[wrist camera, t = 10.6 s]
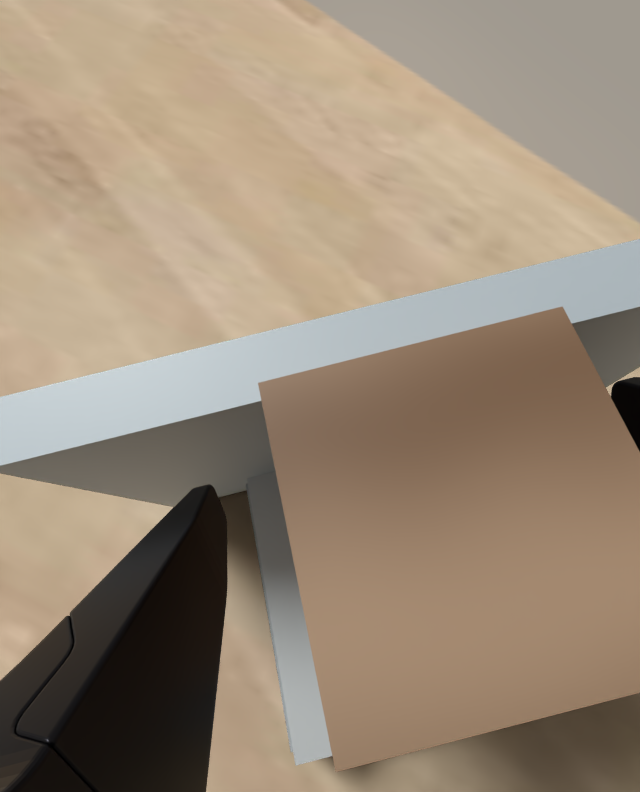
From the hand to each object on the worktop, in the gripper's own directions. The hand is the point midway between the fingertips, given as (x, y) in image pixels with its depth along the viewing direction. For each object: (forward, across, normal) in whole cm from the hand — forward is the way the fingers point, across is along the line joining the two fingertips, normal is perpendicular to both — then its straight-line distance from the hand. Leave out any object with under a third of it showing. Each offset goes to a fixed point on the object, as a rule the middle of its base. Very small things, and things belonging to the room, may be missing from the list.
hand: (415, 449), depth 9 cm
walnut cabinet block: (+4, 0, +6) cm, 8 cm away
